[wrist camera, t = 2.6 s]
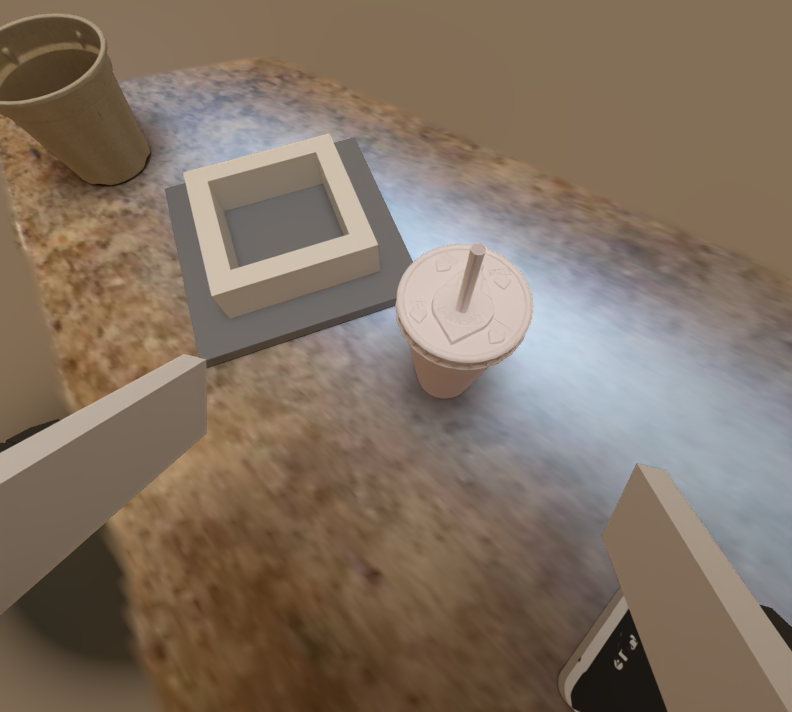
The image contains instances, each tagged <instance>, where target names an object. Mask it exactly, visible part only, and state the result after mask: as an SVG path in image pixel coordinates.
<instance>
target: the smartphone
mask: <svg viewBox="0 0 792 712" xmlns="http://www.w3.org/2000/svg"><path fill="white" fill-rule="evenodd" d="M601 627H602V628H601ZM581 656H582V657H581ZM558 686H559V691H560V693H561V696H562V697H563V699H564V700H565V701H566V702H567V703H568V705H569V706H570V707H571V708H572V709H573V710H574V711H575V712H668V711H667V709H666V706H665V703H664V701H663V698H662V695H661V693H660V690H659V687H658V685H657V682H656V679H655V677H654V674H653V671H652V669H651V666H650V663H649V661H648V658H647V655H646V653H645V650H644V647H643V645H642V642H641V639H640V637H639V634H638V631H637V629H636V626H635V623H634V621H633V618H632V615H631V613H630V610H629V607H628V605H627V602H626V599H625V597H624V594H623V591H622V589H621V587H620V588H619V589H618V591H617V592H616V594H615V595H614V597H613V598H612V599H611V601H610V602H609V604H608V605H607V607H606V608H605V609H604V611H603V612H602V614H601V615H600V617H599V618H598V619H597V621H596V622H595V624H594V625H593V627H592V628H591V629H590V631H589V632H588V634H587V635H586V637H585V638H584V639H583V641H582V642H581V644H580V645H579V647H578V648H577V649H576V651H575V652H574V654H573V655H572V657H571V658H570V659H569V661H568V662H567V664H566V665H565V667H564V668H563V670H562V671H561V673H560V675H559V679H558Z"/></svg>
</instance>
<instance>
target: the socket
mask: <svg viewBox="0 0 792 712" xmlns="http://www.w3.org/2000/svg"><path fill="white" fill-rule="evenodd" d="M183 174H184V179H185V183H184V184H181V185H177V186H173V187H170V188H166V189H165V192H166V197H167V202H168V207H169V212H170V217H171V222H172V227H173V232H174V237H175V241H176V246H177V251H178V256H179V261H180V266H181V271H182V276H183V281H184V286H185V291H186V296H187V301H188V306H189V311H190V315H191V320H192V325H193V330H194V335H195V340H196V345H197V350H198V355H199V358H202V359H206V368H207V367H210V366H213V365H216V364H219V363H222V362H225V361H229V360H232V359H235V358H238V357H241V356H244V355H247V354H250V353H253V352H256V351H259V350H262V349H265V348H268V347H271V346H274V345H277V344H280V343H283V342H286V341H289V340H292V339H295V338H298V337H301V336H304V335H307V334H310V333H313V332H316V331H319V330H322V329H325V328H328V327H331V326H334V325H337V324H341V323H344V322H347V321H350V320H353V319H356V318H359V317H362V316H365V315H368V314H371V313H374V312H377V311H380V310H383V309H386V308H389V307H392V306H395V304H396V300H397V291H398V286H399V283H400V280H401V278H402V276H403V274H404V273H405V271H406V270H407V268H408V267H409V266H410V265H411V264H412V263H413V261H412V259H411V257H410V255H409V253H408V250H407V248H406V246H405V244H404V242H403V240H402V238H401V236H400V233H399V231H398V229H397V227H396V225H395V223H394V221H393V218H392V216H391V214H390V212H389V210H388V208H387V206H386V203H385V201H384V199H383V197H382V195H381V193H380V191H379V188H378V186H377V184H376V182H375V180H374V178H373V176H372V174H371V171H370V169H369V167H368V165H367V163H366V161H365V159H364V156H363V154H362V152H361V150H360V148H359V146H358V144H357V141H356V139H355V137H354V138H351V139H347V140H343V141H339V142H336V143H333V140H332V138H331V136H330V133H329V134H325V135H321V136H317V137H314V138H310V139H306V140H302V141H299V142H295V143H291V144H287V145H284V146H280V147H276V148H272V149H269V150H265V151H261V152H258V153H254V154H250V155H246V156H243V157H239V158H235V159H231V160H228V161H224V162H220V163H216V164H213V165H209V166H205V167H201V168H198V169H194V170H190V171H186V172H183Z"/></svg>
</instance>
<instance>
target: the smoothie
mask: <svg viewBox="0 0 792 712" xmlns="http://www.w3.org/2000/svg"><path fill="white" fill-rule="evenodd" d="M395 307H396V319H397V323H398V325H399V328H400V330H401V333H402V335H403V337H404V338H405V339H406V341H407V342H408V343H409V346H410V350H411V354H412V358H413V362H414V366H415V370H416V374H417V378H418V381H419V383H420V385H421V387H422V388H423V389H424V390H425V391H426V392H427V393H428V394H430V395H432V396H434V397H437V398H442V399H448V398H453V397H456V396H458V395H460V394H461V393H463V392H464V391H465V390H466V389H467V388H468V387H469V386H470V385H471V384H472V383H473V382H474V381H475V380H476V379H477V378H478V377H479V376H480V375H481V374H482V373H483V372H484V371H485V370H486V369H487V368H488V367H489V366H492V365H495V364H498V363H499V362H501V361H502V360H504V359H505V358H507V357H508V356H510V355H511V354H512V353H513V352H514V351H515V350H516V348H517V347H518V346H519V345H520V344H521V342H522V341H523V339H524V336H525V334H526V332H527V330H528V328H529V325H530V323H531V319H532V314H533V299H532V294H531V291H530V288H529V285H528V283H527V281H526V279H525V278H524V276H523V275H522V273H521V272H520V271H519V270H518V268H517V267H516V266H515V265H514V264H512V263H511V262H510V261H509V260H508V259H506V258H505V257H503V256H502V255H500V254H498V253H496V252H494V251H492V250H489V249H487V248H486V247H485V245H484V244H482V243H474V244H473V245H468V244H454V245H447V246H442V247H438V248H436V249H433V250H431V251H428V252H426V253H425V254H423V255H421V256H420V257H419V258H417V259H416V260H415V261H414V262H413V263H412V264H411V265H410V266H409V267H408V268H407V270H406V271H405V273H404V274H403V276H402V278H401V280H400V283H399V286H398V291H397V300H396V304H395Z"/></svg>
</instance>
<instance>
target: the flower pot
mask: <svg viewBox="0 0 792 712" xmlns="http://www.w3.org/2000/svg"><path fill="white" fill-rule="evenodd" d="M112 71H113V70H112V63H111V60H110V58H109V56H108V54H107V42H106V39H105V37H104V35H103V33H102V32H101V30H100V29H99V28H98V27H97V26H96V25H95V24H93V23H92V22H90V21H89V20H87V19H84V18H81V17H79V16H75V15H68V14H41V15H36V16H31V17H26V18H22V19H20V20H17V21H13V22H10V23H8V24H6V25H4V26H2V27H0V114H1V115H3V116H5V117H8V118H10V119H12V120H13V121H14V122H15V123H16V124H18V125H19V126H20V127H21V128H22V129H24V130H25V131H26V132H27V133H28V134H30V135H31V136H32V137H33V138H34V139H36V140H37V141H38V142H39V143H40V144H42V145H43V146H44V147H45V148H46V149H48V150H49V151H50V152H51V153H52V154H54V155H55V156H56V157H57V158H58V159H60V160H61V161H62V162H63V163H64V164H65V165H67V166H68V167H69V168H70V169H71V170H72V171H74V172H75V173H76V174H77V175H78V176H79V177H80V178H81V179H83V180H84V181H86V182H88V183H90V184H97V183H99V184H106V185H115V184H119V183H122V182H125V181H127V180H129V179H131V178H132V177H134V176H135V175H137V174H138V173H139V172H140V171H141V170H142V169H143V168H144V166H145V162H146V159H147V157H148V155H149V154H150V148H149V145H148V143H147V141H146V139H145V137H144V135H143V133H142V131H141V129H140V127H139V125H138V123H137V121H136V119H135V117H134V115H133V113H132V111H131V109H130V107H129V105H128V103H127V101H126V98H125V96H124V94H123V92H122V90H121V88H120V86H119V84H118V82H117V80H116V78H115V76H114V74H113V72H112Z"/></svg>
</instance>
